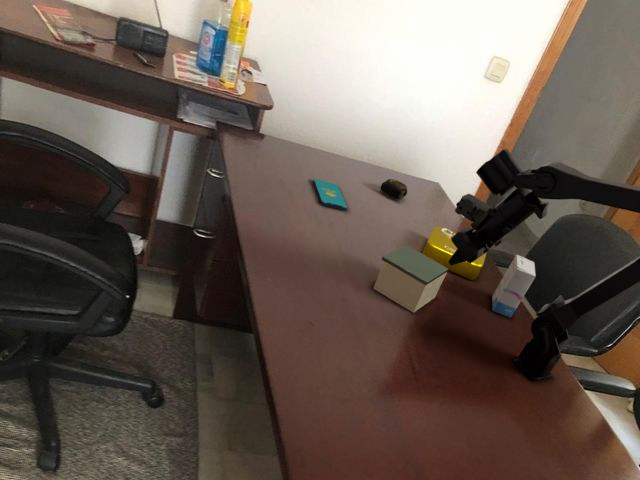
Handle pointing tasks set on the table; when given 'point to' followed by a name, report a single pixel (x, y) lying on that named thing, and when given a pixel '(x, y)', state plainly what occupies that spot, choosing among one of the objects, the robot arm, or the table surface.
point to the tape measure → (394, 188)
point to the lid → (415, 264)
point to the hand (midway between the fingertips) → (450, 263)
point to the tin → (406, 288)
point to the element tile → (450, 254)
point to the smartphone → (329, 194)
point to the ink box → (513, 286)
